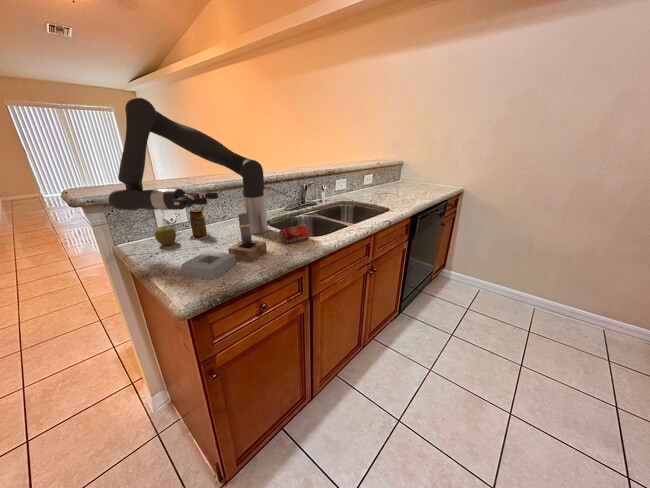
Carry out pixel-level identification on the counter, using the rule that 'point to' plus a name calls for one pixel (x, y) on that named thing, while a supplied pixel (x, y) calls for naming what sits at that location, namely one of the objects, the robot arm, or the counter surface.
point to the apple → (165, 235)
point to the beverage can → (294, 234)
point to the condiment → (198, 224)
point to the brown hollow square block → (248, 251)
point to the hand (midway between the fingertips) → (212, 198)
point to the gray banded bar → (245, 230)
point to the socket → (209, 264)
